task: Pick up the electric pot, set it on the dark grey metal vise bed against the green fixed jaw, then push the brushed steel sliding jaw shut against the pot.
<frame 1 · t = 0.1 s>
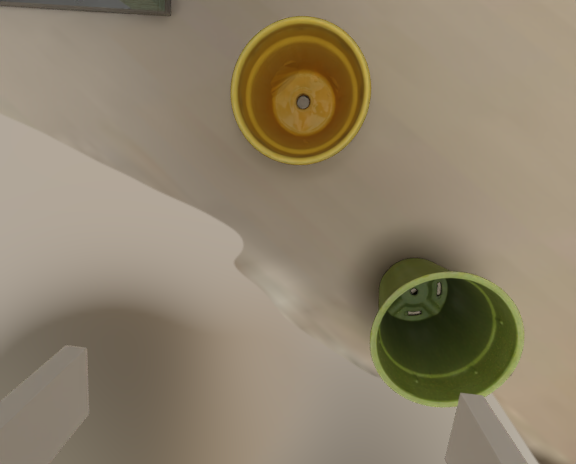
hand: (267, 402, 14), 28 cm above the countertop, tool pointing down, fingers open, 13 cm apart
plant pot 2: (410, 288, 42), on the countertop
plant pot: (303, 104, 38), on the countertop
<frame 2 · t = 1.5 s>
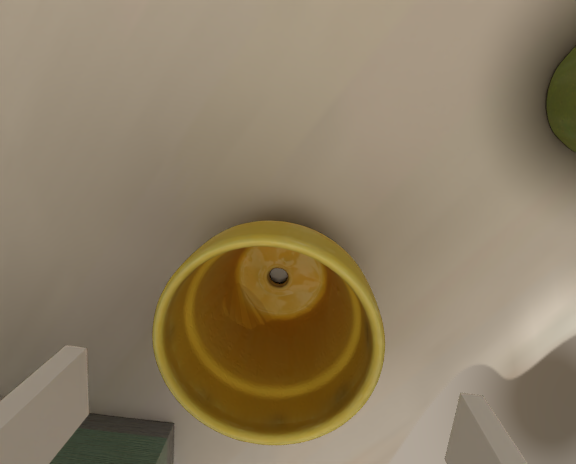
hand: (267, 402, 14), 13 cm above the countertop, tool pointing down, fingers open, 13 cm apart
plant pot: (281, 271, 27), on the countertop
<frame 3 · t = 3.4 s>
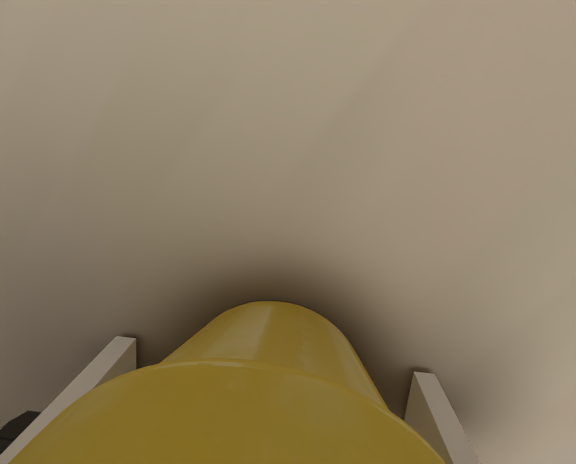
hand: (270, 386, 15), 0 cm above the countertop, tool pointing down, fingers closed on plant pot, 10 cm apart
plant pot: (271, 377, 15), on the countertop, touching gripper
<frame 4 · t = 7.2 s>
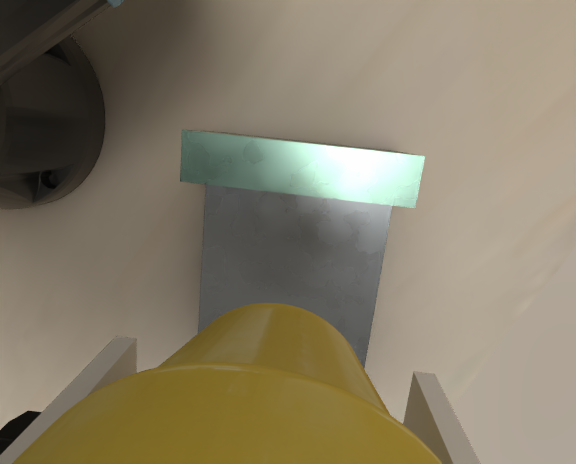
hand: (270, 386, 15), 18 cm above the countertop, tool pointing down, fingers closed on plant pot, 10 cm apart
vise base: (288, 288, 33), on the countertop
plant pot: (271, 379, 15), point 17 cm above the countertop, touching gripper
when the fingers open (4 cm above the countertop, at t = 10.4 s): plant pot drops 2 cm, resting on vise base.
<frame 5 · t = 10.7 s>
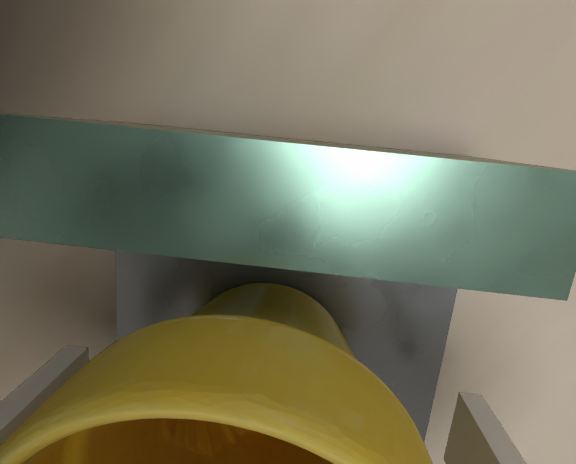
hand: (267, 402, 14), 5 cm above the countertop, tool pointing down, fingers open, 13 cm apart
vise base: (273, 391, 19), on the countertop
plant pot: (265, 352, 17), point 1 cm above the countertop, touching vise base
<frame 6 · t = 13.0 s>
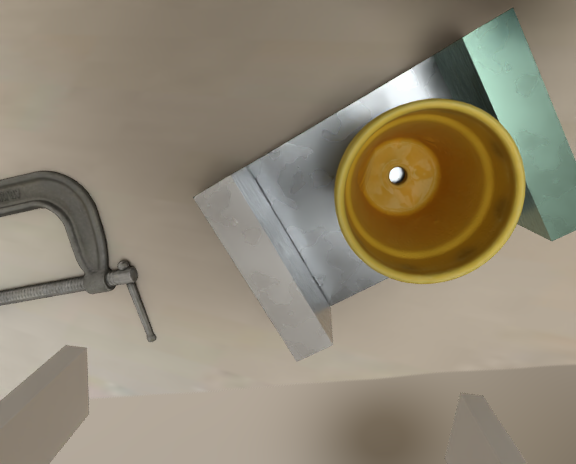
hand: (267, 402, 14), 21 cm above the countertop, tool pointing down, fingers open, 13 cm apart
vise base: (363, 195, 33), on the countertop
c clamp: (42, 262, 38), on the countertop
steel jaw: (270, 259, 30), point 5 cm above the countertop, slide at 5.0 cm
plant pot: (395, 175, 31), point 1 cm above the countertop, touching vise base
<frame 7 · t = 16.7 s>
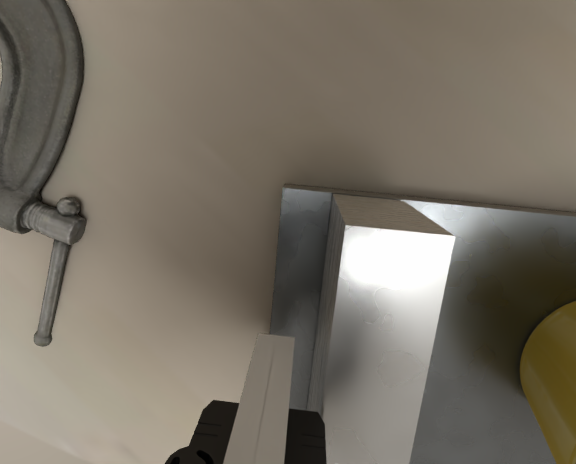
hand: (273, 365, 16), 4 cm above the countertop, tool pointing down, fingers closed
vise base: (508, 344, 20), on the countertop
steel jaw: (354, 385, 15), point 5 cm above the countertop, slide at 4.8 cm, touching gripper
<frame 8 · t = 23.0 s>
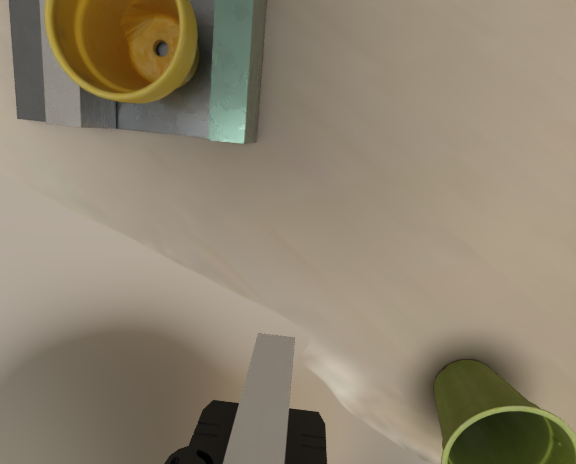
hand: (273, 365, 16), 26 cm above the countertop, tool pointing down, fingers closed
vise base: (141, 57, 38), on the countertop
plant pot 2: (462, 384, 45), on the countertop
steel jaw: (81, 43, 34), point 5 cm above the countertop, slide at -0.3 cm, touching plant pot
plant pot: (165, 52, 37), point 1 cm above the countertop, touching steel jaw, vise base
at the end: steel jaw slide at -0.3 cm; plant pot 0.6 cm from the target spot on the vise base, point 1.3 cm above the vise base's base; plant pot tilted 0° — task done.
